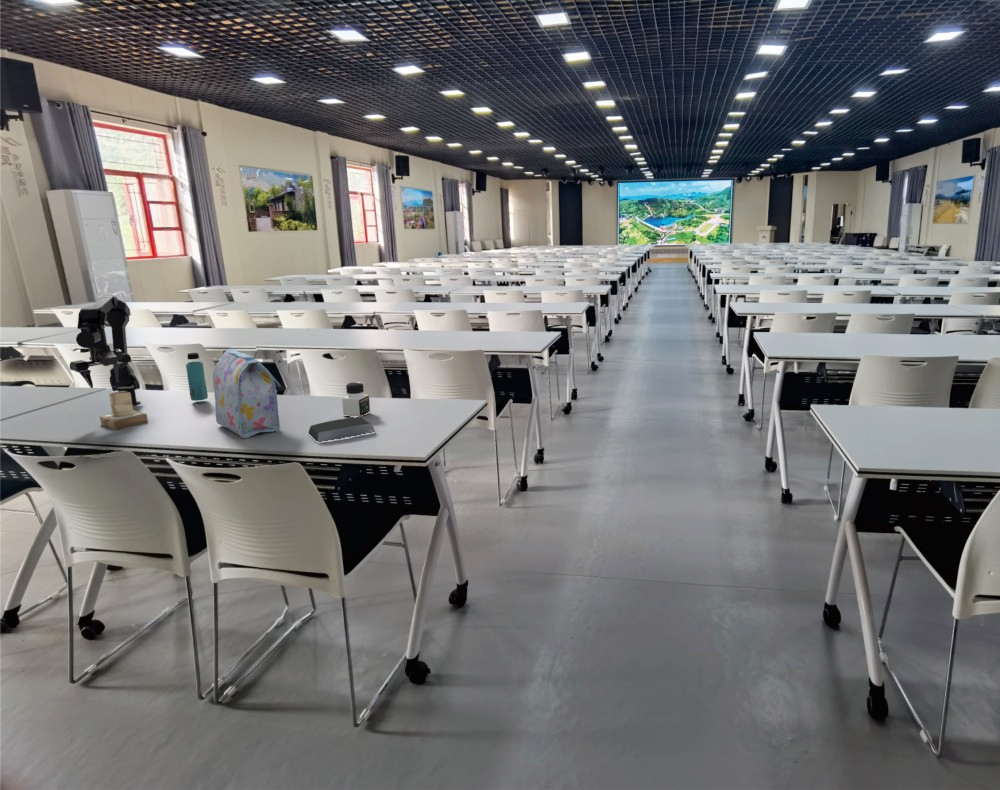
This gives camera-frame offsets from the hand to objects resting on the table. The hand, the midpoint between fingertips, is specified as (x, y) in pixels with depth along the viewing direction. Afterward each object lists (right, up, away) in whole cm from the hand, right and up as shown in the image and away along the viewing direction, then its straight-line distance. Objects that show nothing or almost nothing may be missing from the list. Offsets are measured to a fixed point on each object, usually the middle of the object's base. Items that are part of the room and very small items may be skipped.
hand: (105, 385), depth 237 cm
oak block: (+9, -11, -4) cm, 14 cm away
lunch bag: (+58, -15, -12) cm, 61 cm away
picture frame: (+9, -14, -3) cm, 16 cm away
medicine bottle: (+91, -11, +2) cm, 92 cm away
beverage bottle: (+23, -7, +24) cm, 34 cm away
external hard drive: (+91, -17, -20) cm, 95 cm away
